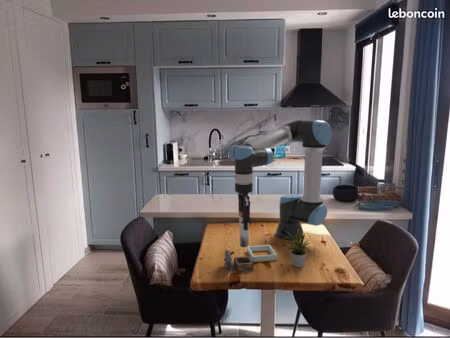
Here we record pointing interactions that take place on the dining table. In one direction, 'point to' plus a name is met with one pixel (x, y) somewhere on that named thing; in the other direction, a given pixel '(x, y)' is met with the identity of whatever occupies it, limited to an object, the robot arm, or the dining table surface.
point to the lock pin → (243, 240)
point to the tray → (261, 257)
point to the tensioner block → (238, 263)
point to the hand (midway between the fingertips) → (244, 234)
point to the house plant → (298, 249)
